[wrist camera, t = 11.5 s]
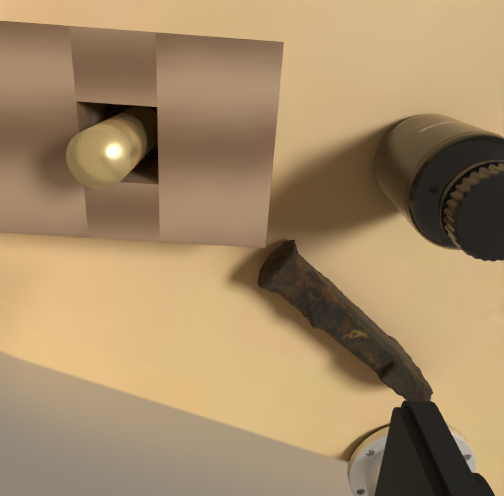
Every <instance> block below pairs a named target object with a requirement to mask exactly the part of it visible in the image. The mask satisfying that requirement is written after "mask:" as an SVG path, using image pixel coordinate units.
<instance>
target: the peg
mask: <svg viewBox="0 0 504 496" xmlns="http://www.w3.org/2000/svg"><path fill="white" fill-rule="evenodd" d="M157 144H158V119H157V114H156V113H155V112H154V111H152V110H151V109H149V108H147V107H144V106H135V107H132V108H129V109H127V110H125V111H123V112H121V113H119V114H117V115H115V116H113V117H111V118H109V119H107V120H104V121H102V122H100V123H98V124H96V125H94V126H92V127H90V128H88V129H86V130H84V131H82V132H79V133H78V134H76V135H75V136H74V137H73V138H72V139H71V140H70V142H69V144H68V146H67V150H66V161H67V165H68V167H69V170H70V171H71V173H72V175H73V176H74V177H75V178H76V179H77V180H78V181H79V182H80V183H82V184H83V185H85V186H87V187H90V188H93V189H99V190H103V189H109V188H112V187H114V186H115V185H117V184H118V183H119V182H120V181H121V180H122V179H123V178H124V177H125V176H126V175H127V174H128V173H129V172H130V171H131V170H132V169H133V168H134V167H135V166H136V165H137V164H138V163H139V162H140V161H141V160H142V159H143V158H144V157H145V156H146V155H147V154H148V153H149V152H150V151H151V150H152V149H153V148H154V147H155V146H156V145H157Z"/></svg>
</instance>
